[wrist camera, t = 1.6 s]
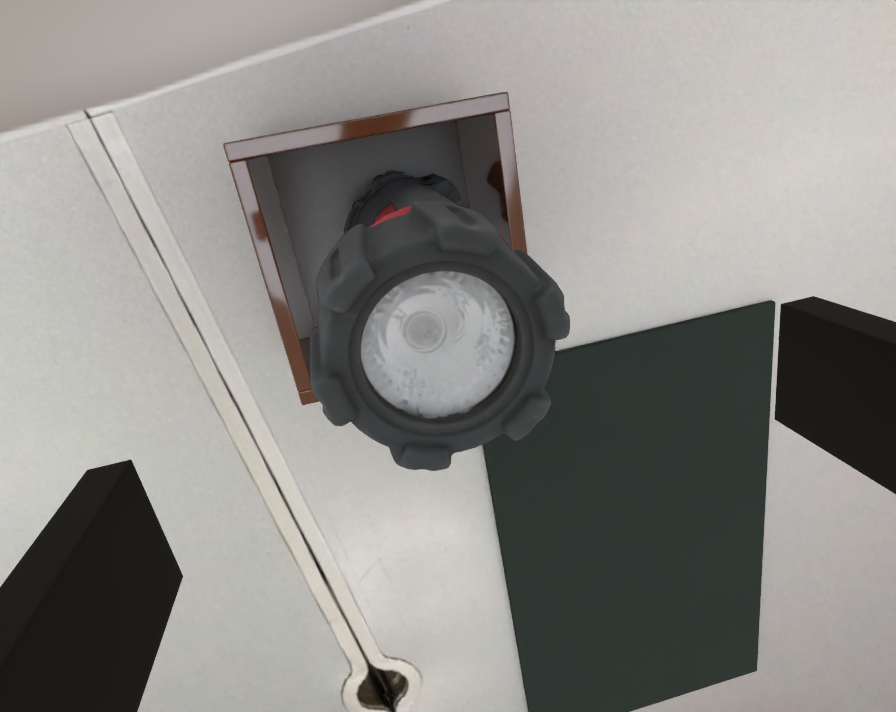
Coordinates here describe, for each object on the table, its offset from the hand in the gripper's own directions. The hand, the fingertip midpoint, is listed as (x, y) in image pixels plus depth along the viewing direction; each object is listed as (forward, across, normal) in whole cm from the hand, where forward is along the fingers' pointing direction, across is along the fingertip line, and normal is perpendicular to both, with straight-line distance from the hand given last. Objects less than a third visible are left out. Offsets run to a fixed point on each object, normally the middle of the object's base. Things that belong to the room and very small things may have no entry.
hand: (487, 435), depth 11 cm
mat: (+27, +16, -31) cm, 44 cm away
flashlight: (+27, 0, 0) cm, 27 cm away
